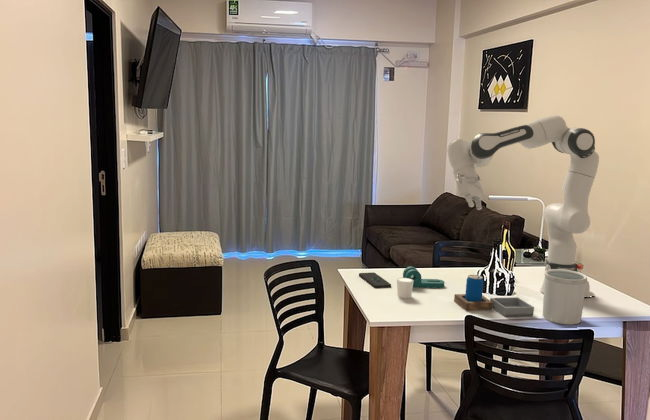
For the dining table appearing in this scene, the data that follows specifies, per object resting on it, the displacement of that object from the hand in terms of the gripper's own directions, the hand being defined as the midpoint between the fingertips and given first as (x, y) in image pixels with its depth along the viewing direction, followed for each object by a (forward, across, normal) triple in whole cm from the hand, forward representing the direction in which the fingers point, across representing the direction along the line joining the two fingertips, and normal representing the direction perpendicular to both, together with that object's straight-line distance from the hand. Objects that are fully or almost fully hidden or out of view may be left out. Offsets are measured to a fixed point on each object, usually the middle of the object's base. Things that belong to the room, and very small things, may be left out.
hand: (475, 208), depth 234 cm
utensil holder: (+50, +8, -16) cm, 53 cm away
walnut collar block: (+37, -1, +13) cm, 39 cm away
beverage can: (+37, -1, +13) cm, 40 cm away
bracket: (+23, +12, +36) cm, 44 cm away
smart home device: (+16, +2, +55) cm, 57 cm away
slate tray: (+43, +3, 0) cm, 43 cm away
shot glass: (+27, -8, +38) cm, 47 cm away
